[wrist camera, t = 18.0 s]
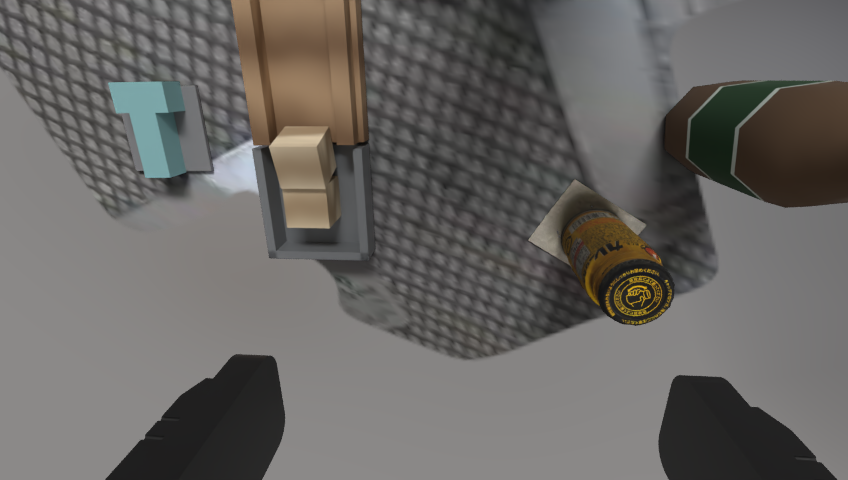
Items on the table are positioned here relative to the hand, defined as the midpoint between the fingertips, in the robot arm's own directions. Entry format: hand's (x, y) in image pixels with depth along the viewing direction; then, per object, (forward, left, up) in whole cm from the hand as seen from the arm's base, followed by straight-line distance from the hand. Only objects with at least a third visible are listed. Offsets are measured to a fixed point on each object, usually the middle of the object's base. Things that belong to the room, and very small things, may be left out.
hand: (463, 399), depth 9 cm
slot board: (-9, -14, -33) cm, 37 cm away
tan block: (+4, -14, -33) cm, 36 cm away
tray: (+5, -14, -33) cm, 36 cm away
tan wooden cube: (-1, -14, -31) cm, 34 cm away
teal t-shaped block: (-6, -29, -31) cm, 43 cm away
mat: (-2, -29, -33) cm, 44 cm away
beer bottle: (-2, +21, -33) cm, 39 cm away
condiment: (+8, +12, -33) cm, 36 cm away
